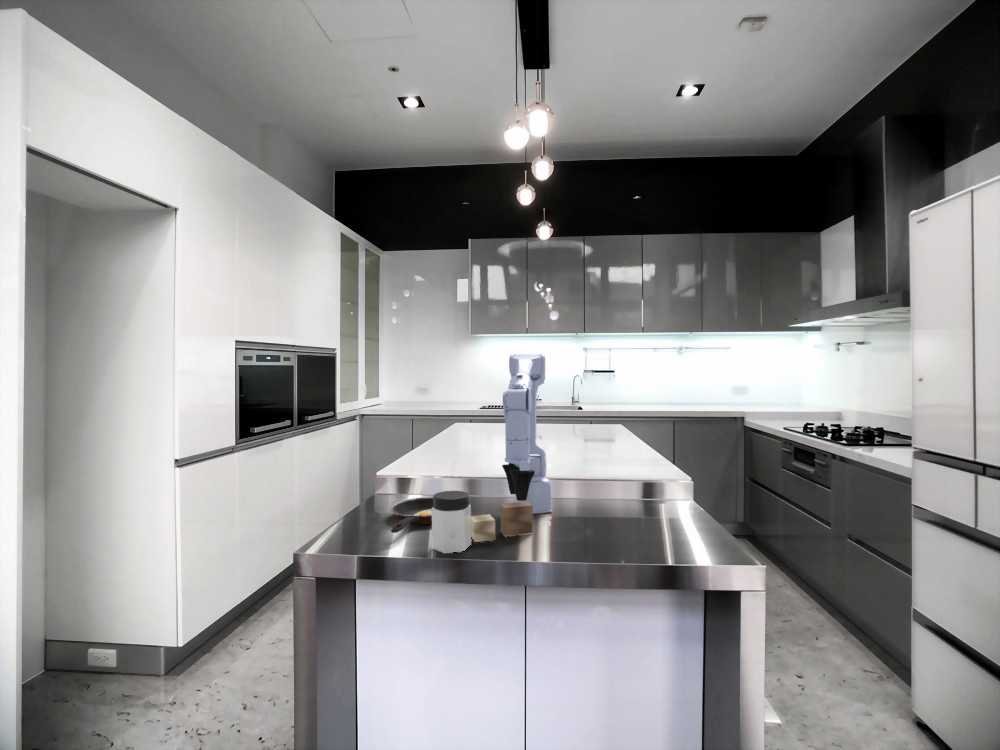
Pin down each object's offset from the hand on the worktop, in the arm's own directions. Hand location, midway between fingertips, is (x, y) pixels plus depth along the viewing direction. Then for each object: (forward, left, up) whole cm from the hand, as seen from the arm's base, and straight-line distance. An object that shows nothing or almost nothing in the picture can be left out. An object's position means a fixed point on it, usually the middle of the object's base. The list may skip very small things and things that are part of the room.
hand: (518, 497), depth 126 cm
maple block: (+8, -3, -10) cm, 13 cm away
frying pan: (+22, -19, -10) cm, 31 cm away
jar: (+16, +1, -10) cm, 19 cm away
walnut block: (-1, -4, -10) cm, 11 cm away
